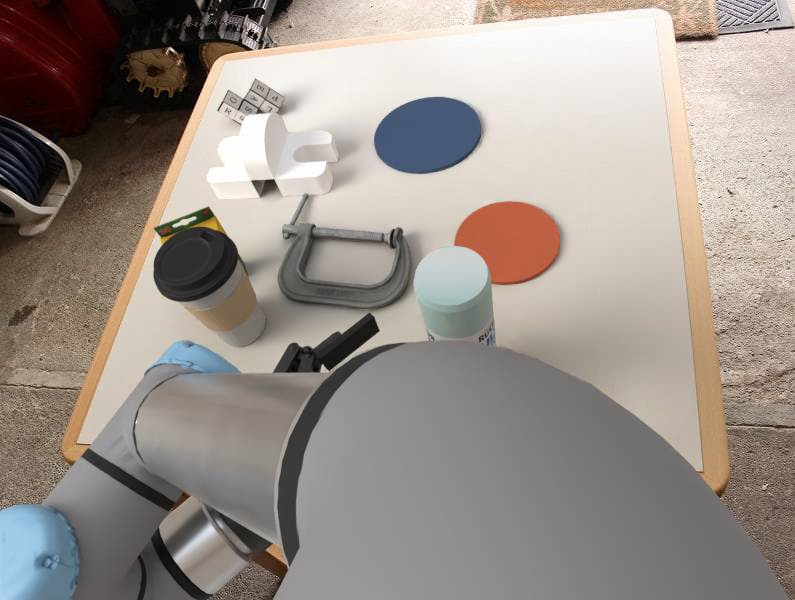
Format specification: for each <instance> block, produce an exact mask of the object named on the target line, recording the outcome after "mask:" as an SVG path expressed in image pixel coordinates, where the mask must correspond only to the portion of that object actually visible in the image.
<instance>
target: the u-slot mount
mask: <svg viewBox="0 0 795 600" xmlns="http://www.w3.org/2000/svg"><path fill="white" fill-rule="evenodd" d="M239 130H240V131H239V135H237V136H236V135H234V136H227V137H225V138H223V139H222V140H221V141H220V142H219V144H218V147H217V149H216V152H217V154H218V156H219V157H220V159H221V161H222V163H223V165H224V167H221V166H220V167H210V168H209V170H208V173H207V175H206V180H207V182H208V183H209V185H210V187H211V188H212V190H213V193H215V195H216V197H217V198H218V199H219V200H222V201H223V200H243V199H244V200H245V199H246V200H247V199H260V198H261V197H262V196H261V195H262V193H263V189H264V186H265V183H266V180H267V181H268V180H274V181H275V184H276V186H277V187H278V190H279V192H280V194H281V196H282V198H284V197H285V198H287V197H303V194H304V193H307V194H308V195H309V196H324V195H326V194H328V193H329V192H330V191H331V190H332V187H333V183H334V177H333V174H332V172H331V168H330V166H329V163H338V161H339V156H340V153H339V151H338V148H337V146H336V142H335V140H334V137H333V135H332V134H331V133H330V132H328V131H326V130H322V129H321V130H319V129H318V130H305V131H293V132H291V131H290V132H289V131H288V128H287V126H286V124H285V121H284V119H283V117H282V116H281V115H280V114H279V113H278V112H277V113H265V112H264V113H263V112H262V113H256V114H250V115H248V116H246V117H245V119H244V120H243V122H242V125H240V129H239Z"/></svg>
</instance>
